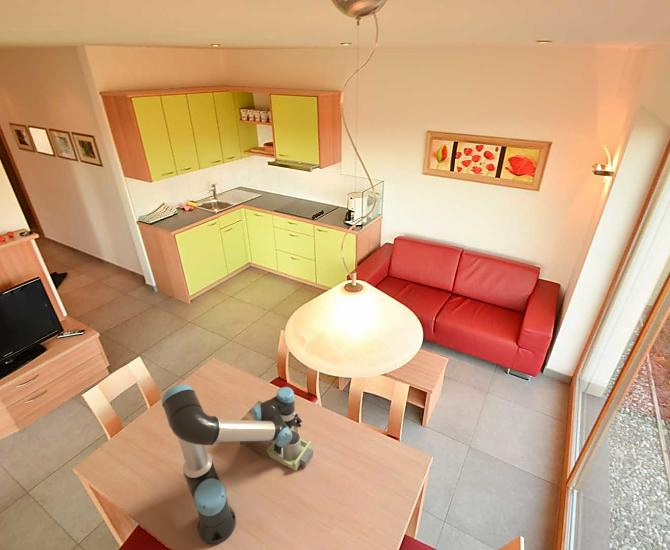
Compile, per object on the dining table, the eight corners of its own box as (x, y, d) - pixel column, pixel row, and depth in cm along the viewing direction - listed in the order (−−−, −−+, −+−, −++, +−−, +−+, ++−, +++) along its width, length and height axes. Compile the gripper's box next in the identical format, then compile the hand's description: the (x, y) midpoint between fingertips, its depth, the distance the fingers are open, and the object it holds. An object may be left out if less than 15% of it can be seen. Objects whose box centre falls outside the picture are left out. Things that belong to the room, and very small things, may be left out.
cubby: (267, 459, 189) (264, 438, 182) (240, 444, 196) (236, 423, 189) (286, 433, 202) (285, 413, 195) (261, 420, 209) (258, 400, 202)
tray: (301, 474, 182) (300, 466, 179) (266, 455, 190) (265, 447, 188) (316, 450, 193) (316, 443, 190) (283, 433, 201) (283, 426, 199)
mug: (303, 447, 193) (303, 432, 188) (297, 462, 186) (296, 447, 181) (281, 441, 196) (280, 426, 191) (274, 455, 189) (272, 440, 184)
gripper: (277, 439, 168) (280, 469, 179) (308, 400, 187) (309, 430, 198) (263, 432, 171) (267, 462, 182) (295, 394, 191) (296, 424, 201)
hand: (288, 445), depth 190 cm, fingers open, 13 cm apart
